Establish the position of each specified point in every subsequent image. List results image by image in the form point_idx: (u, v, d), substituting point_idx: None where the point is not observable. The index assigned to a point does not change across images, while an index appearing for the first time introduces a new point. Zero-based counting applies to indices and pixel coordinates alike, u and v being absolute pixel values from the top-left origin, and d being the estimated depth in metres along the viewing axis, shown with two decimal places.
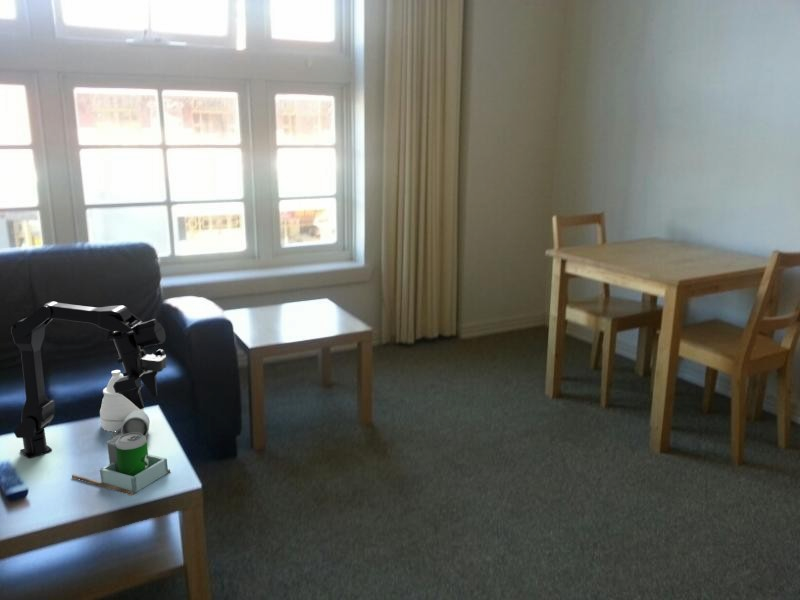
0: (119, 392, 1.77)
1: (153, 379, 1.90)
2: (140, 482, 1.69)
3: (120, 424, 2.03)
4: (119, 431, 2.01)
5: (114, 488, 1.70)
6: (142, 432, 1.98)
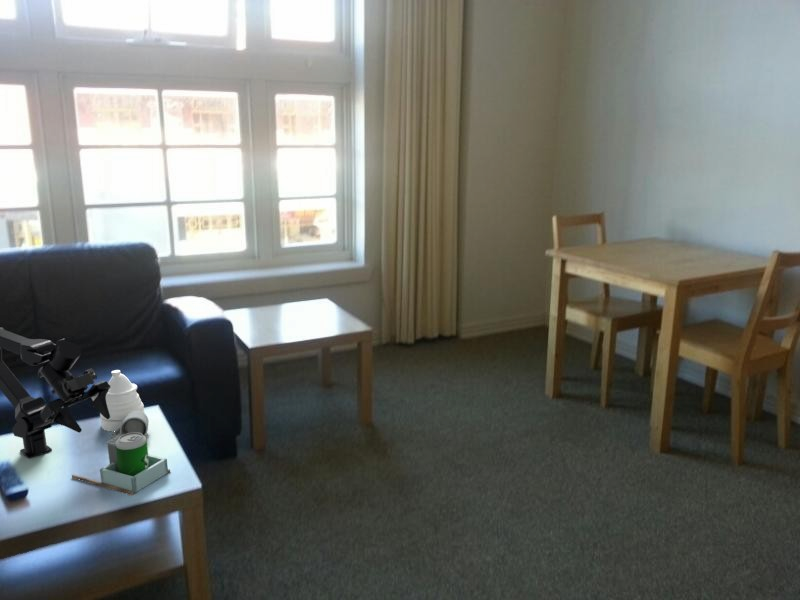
0: (50, 420, 1.72)
1: (101, 402, 1.82)
2: (140, 482, 1.69)
3: (120, 424, 2.03)
4: (118, 431, 2.01)
5: (114, 488, 1.70)
6: (141, 432, 1.98)
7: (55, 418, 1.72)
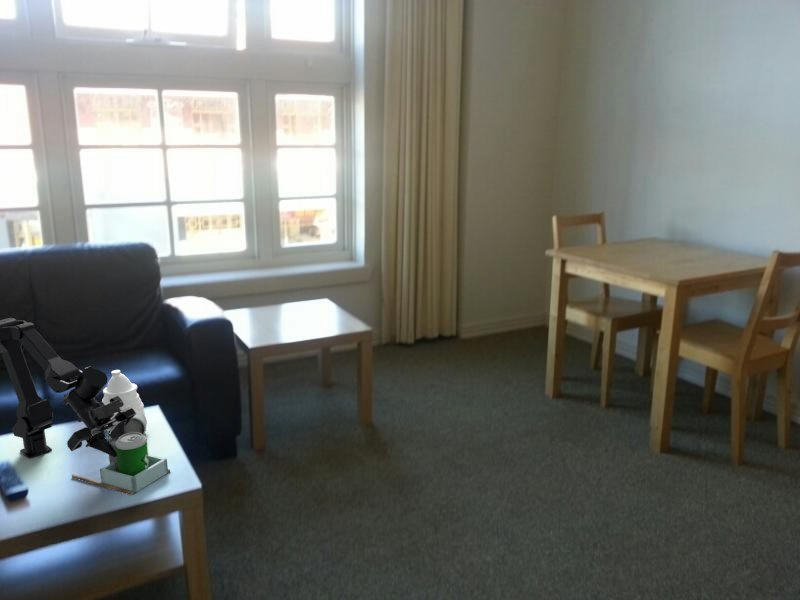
0: None
1: (119, 433, 1.78)
2: (140, 482, 1.69)
3: None
4: None
5: (114, 488, 1.70)
6: (139, 432, 1.98)
7: (91, 443, 1.73)
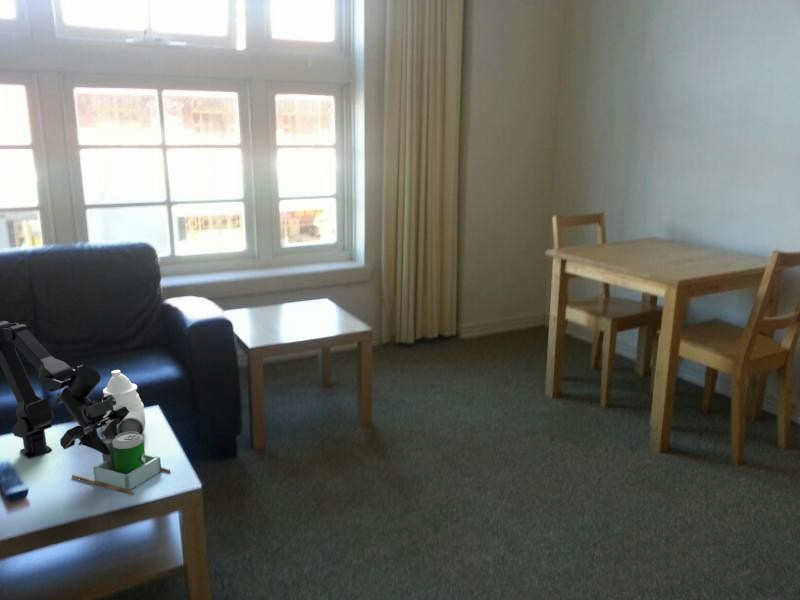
0: None
1: (112, 431, 1.79)
2: (133, 480, 1.70)
3: None
4: None
5: (114, 488, 1.70)
6: None
7: (84, 441, 1.74)
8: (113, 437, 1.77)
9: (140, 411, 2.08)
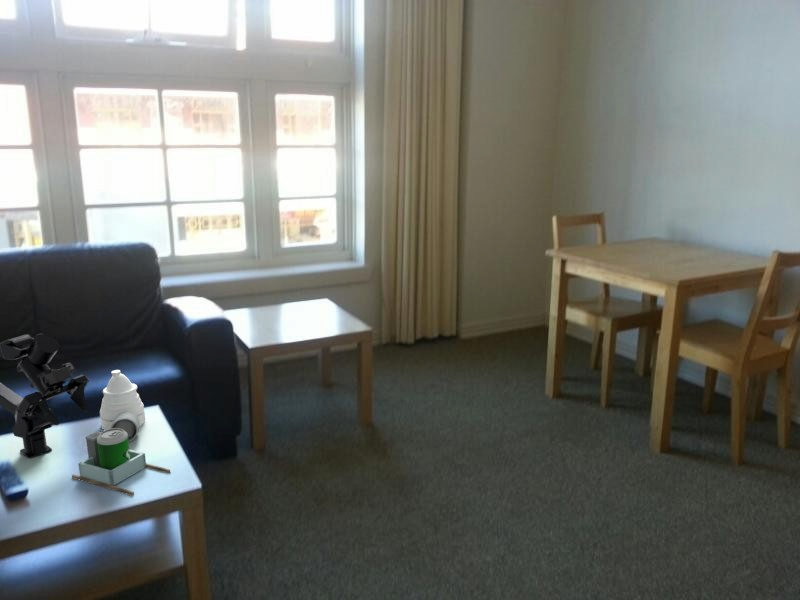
0: (28, 413, 1.76)
1: (79, 395, 1.85)
2: (118, 476, 1.73)
3: None
4: None
5: (114, 488, 1.70)
6: (131, 433, 1.98)
7: (33, 411, 1.76)
8: (98, 433, 1.79)
9: (140, 411, 2.08)
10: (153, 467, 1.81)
